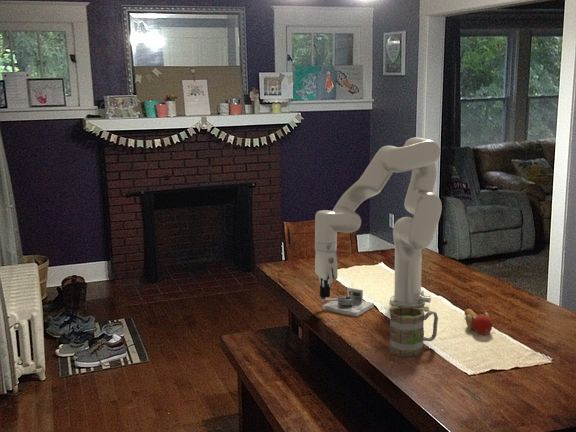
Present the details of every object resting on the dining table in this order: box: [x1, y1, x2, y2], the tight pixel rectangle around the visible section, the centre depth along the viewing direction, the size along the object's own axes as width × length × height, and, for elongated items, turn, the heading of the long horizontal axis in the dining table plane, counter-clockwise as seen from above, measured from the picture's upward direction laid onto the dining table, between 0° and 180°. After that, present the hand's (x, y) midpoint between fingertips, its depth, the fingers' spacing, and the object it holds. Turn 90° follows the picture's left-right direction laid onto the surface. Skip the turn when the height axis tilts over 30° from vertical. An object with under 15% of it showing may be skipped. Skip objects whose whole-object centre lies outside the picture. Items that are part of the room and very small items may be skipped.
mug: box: [388, 306, 439, 358], centre depth 197 cm, size 16×11×12 cm
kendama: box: [464, 308, 493, 335], centre depth 215 cm, size 8×6×18 cm
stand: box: [322, 287, 375, 318], centre depth 234 cm, size 14×12×6 cm
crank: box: [319, 284, 354, 306], centre depth 234 cm, size 12×6×8 cm, turn 90°
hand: (324, 296), depth 230 cm, fingers closed
